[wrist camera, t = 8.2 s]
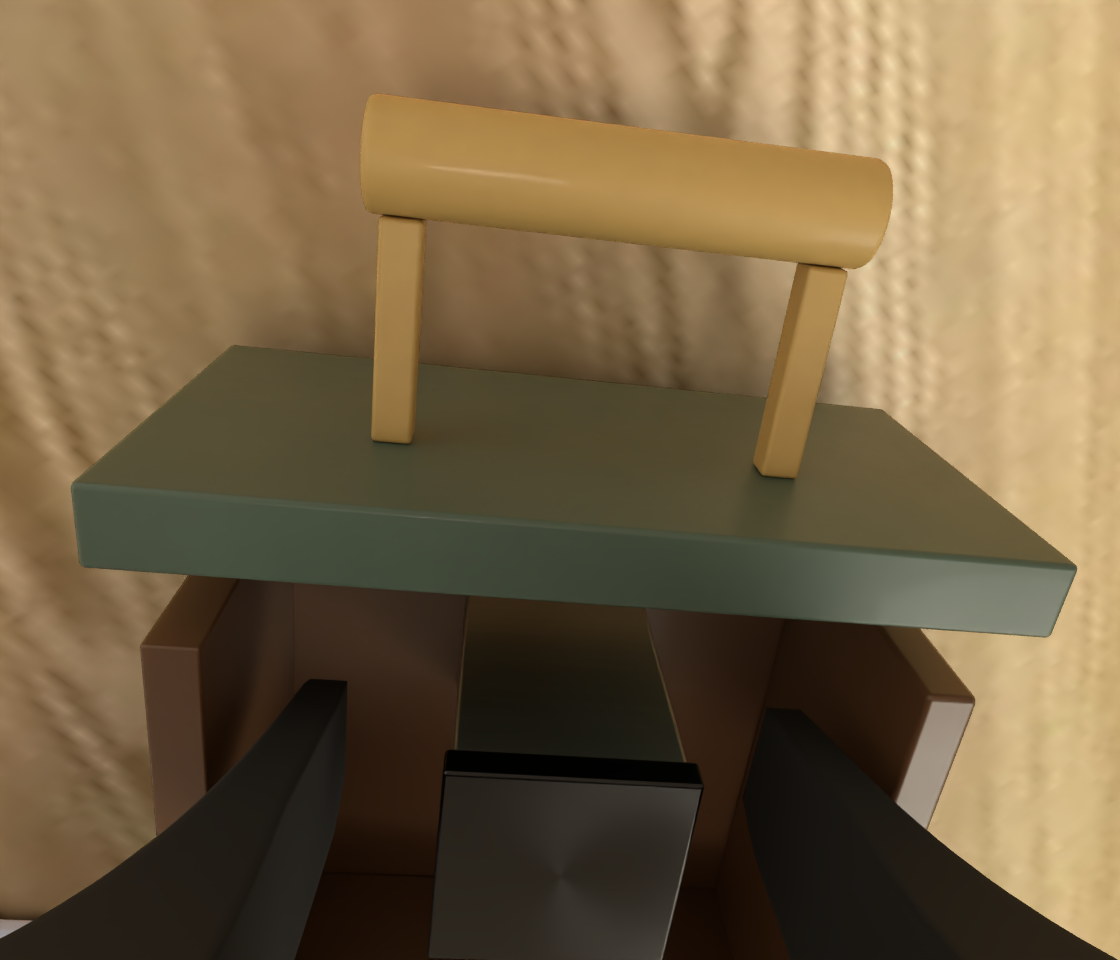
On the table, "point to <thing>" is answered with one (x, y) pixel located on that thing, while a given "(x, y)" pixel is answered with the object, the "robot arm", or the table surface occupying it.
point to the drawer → (558, 520)
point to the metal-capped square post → (560, 789)
